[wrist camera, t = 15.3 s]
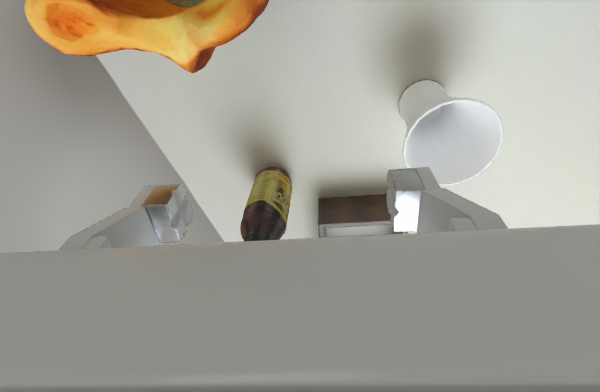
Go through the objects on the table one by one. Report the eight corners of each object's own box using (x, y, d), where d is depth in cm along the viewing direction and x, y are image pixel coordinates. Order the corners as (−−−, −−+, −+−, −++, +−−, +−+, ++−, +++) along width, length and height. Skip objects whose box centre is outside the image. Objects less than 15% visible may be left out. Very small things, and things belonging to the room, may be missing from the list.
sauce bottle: (295, 195, 59) (285, 286, 42) (259, 198, 60) (236, 289, 43) (289, 161, 55) (276, 246, 39) (250, 165, 56) (222, 250, 40)
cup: (472, 69, 46) (521, 104, 35) (446, 140, 52) (481, 190, 41) (394, 60, 46) (418, 93, 35) (377, 133, 52) (392, 181, 41)
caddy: (400, 193, 58) (409, 219, 52) (396, 253, 65) (403, 281, 60) (318, 198, 59) (318, 224, 53) (323, 256, 67) (324, 284, 61)
